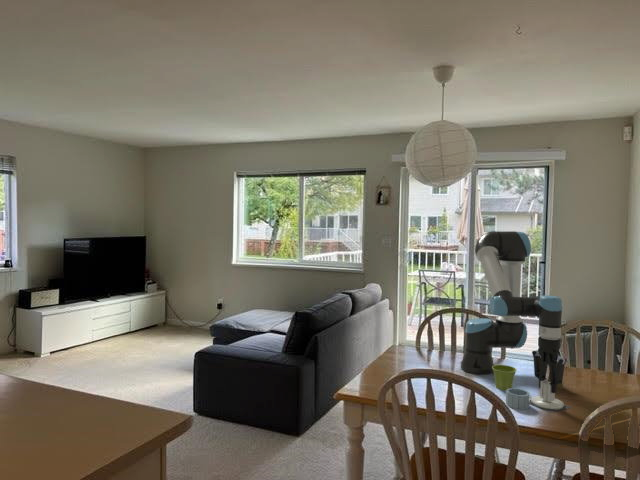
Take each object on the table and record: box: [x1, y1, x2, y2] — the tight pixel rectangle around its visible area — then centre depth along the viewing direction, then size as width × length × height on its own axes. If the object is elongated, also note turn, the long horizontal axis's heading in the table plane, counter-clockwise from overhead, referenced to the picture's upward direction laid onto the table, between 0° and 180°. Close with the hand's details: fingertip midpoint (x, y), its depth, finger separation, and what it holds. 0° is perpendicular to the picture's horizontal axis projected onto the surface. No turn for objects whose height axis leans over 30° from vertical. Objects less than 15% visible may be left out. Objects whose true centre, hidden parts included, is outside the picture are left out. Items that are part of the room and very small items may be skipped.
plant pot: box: [492, 364, 517, 391], centre depth 196 cm, size 9×9×9 cm
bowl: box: [505, 387, 531, 411], centre depth 177 cm, size 8×8×6 cm
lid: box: [530, 381, 565, 410], centre depth 178 cm, size 11×11×8 cm
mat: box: [530, 399, 573, 414], centre depth 178 cm, size 12×12×1 cm
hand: (547, 399), depth 178 cm, fingers closed on lid, 3 cm apart
